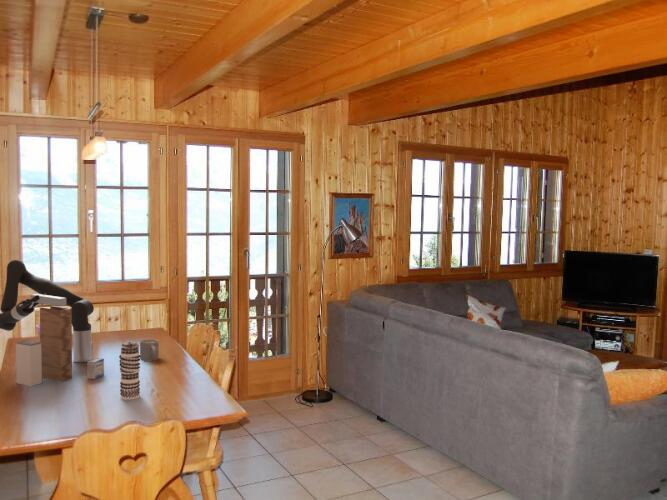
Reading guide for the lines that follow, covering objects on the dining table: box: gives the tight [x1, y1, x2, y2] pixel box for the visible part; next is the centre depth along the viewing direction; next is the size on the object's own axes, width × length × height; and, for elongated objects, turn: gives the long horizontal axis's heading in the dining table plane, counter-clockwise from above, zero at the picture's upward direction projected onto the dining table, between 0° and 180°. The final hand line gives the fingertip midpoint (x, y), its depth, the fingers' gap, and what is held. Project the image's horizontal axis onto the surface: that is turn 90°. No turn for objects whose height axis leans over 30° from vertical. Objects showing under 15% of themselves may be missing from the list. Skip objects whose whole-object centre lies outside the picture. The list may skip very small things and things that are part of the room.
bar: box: [29, 293, 67, 307], centre depth 300 cm, size 4×21×4 cm, turn 64°
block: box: [15, 339, 43, 387], centre depth 291 cm, size 6×10×20 cm, turn 64°
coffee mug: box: [139, 338, 160, 361], centre depth 339 cm, size 13×10×10 cm
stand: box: [39, 305, 73, 382], centre depth 300 cm, size 7×14×35 cm, turn 64°
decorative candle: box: [118, 340, 141, 400], centre depth 274 cm, size 9×9×25 cm
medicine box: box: [86, 357, 105, 380], centre depth 304 cm, size 8×4×9 cm, turn 168°
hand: (42, 296), depth 302 cm, fingers closed on bar, 3 cm apart
